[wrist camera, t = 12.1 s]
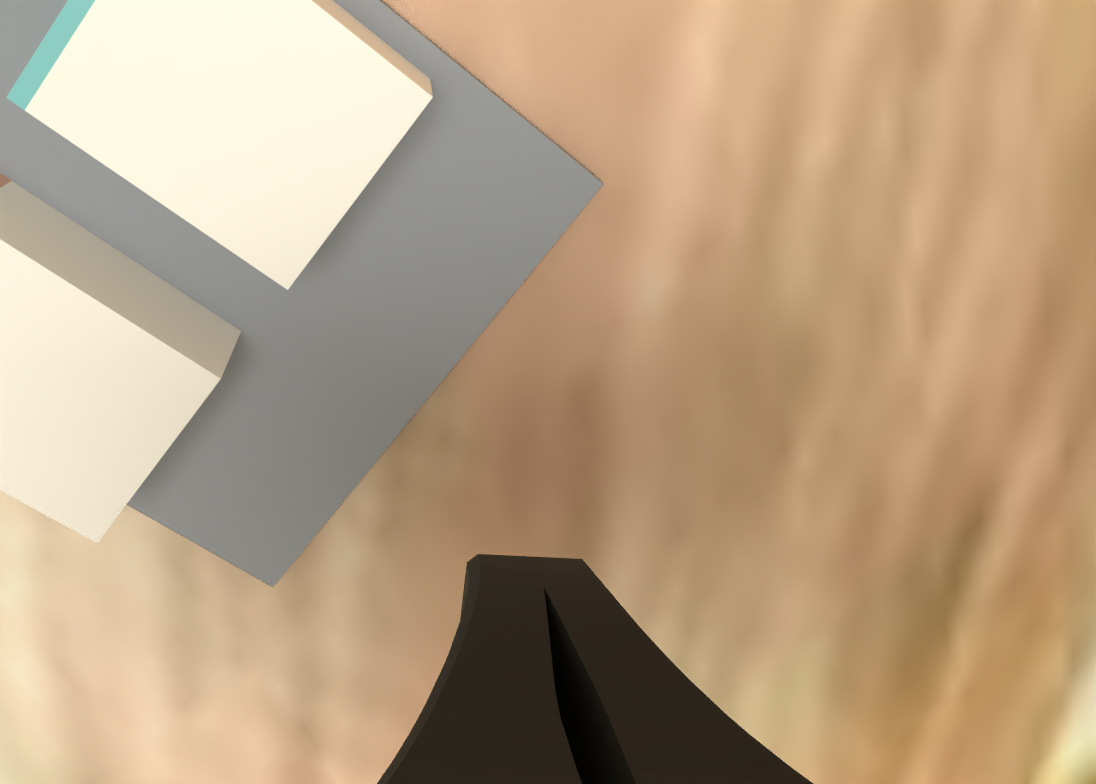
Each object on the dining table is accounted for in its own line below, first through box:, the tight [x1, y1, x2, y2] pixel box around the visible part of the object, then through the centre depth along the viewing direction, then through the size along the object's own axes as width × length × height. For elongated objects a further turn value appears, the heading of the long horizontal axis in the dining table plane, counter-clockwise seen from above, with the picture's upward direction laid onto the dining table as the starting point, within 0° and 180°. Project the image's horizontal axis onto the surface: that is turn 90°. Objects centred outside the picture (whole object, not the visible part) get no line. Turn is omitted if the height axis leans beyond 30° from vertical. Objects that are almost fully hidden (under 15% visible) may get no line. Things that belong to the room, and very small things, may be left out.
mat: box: [0, 0, 603, 587], centre depth 19 cm, size 12×11×1 cm
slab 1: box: [6, 0, 433, 290], centre depth 17 cm, size 2×4×5 cm
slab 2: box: [0, 173, 241, 543], centre depth 19 cm, size 2×4×5 cm
